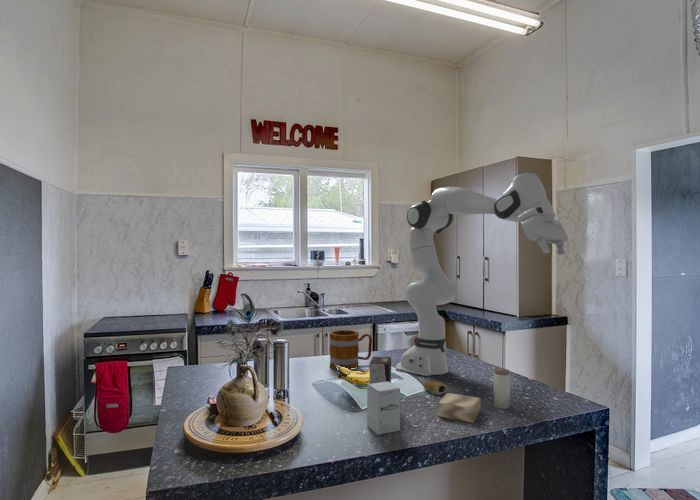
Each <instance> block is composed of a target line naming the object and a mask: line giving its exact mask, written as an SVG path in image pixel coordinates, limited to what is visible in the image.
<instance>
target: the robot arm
mask: <svg viewBox="0 0 700 500" xmlns="http://www.w3.org/2000/svg"><path fill="white" fill-rule="evenodd" d="M485 214H486V215H495V216H496V217H497V218H499V219H501V220H503V221H509V222H514V223H519V224H521V226H522V229H523V232H524V234H525V236H526V238H527V239H528V240H530V241H535V242H536V244H537V245H538V247H540V249H541V250H542V253H543V254H549V253H550V252H551V249H550V247H549V246H548V245H547V243H548V244H552V245H553V244H554V245H555V246H556V248H557V250H556V253H557V254H558V256H564V255H565V254H566V250H565V243H567V242H568V241H569V237H568V234H567V232H566V230H565V228H564V226H563V224H562V223H561V222H560V221H558V220H556V219H555V217H556V213H555V211H554V208H553V207H552V204H551V202H550V200H549V199H548V196H547V192H546V189H545V187H544V184H543V182H542V180H541V178H540V177H539V176H538V175H537V174H536V173H533V172H523V173H519V174H517V175H516V176H514V177H513V178H512V181H511V183H510V185H509V187H508V188H507V189H505V191H504V192H503V193H501V194H499V195H498V196H497V197H496V198H495V197H491V196H488V195H484V194H482V193H480V192H477V191H475V190H471V189H468V188H464V187H459V186H443V187H439V188H436V189H435V190H433V192H432V194H431V196H430V200H429V201H426V200H422V201H420V202H418V203H416V204H414V205H412V206H410V207H409V209H408V210H407V213H406V220H407V224H408V225H409V227H412V228H410V229H409V230H408V231H409V232H408V246H409V253H410V256H411V261H412V266H413V269H414V271H415V272H417V273H418V274H420V276H421V277H422V278H423V280H417V281H414V282H411V283H409V284H408V285H407V286H406V287H405V288H406V289H405V298H406V300H407V303H408V304H410V305H411V307H413V309H414V311H415V313H416V316H417V323H418V335H417V336H416V337H415V338H414V339H413V343H414V345H413V346H411V347H410V348H408V349H407V350H405V351H404V352H403V353H402V355H401V358H400V362H398V363H397V364H396V365H395V369H396V368H397V369H399V370H398V371H400V370H402V371H401V372H405V373H409V374H414V375H420V376H423V377H424V376H425V377H429V376H435V375H437V376H439V375H444V374H447V373H449V368H448V365H447V357H446V350H447V341H446V337H445V333H446V332H445V329H446V328H445V327H446V326H445V324H446V323H445V322H446V321H445V319H444V318H443V316H441V315H440V314H439V313H438V310H437V306H441V305H446V304H449V303H452V302H454V300H455V299H456V297H457V296H458V289H457V287H456V284H455V283H454V282H453V281H451V280H450V279H449V278H448V277H447V276H446V274H445V273H444V271H443V268H442V267H441V265H440V262H439V257H438V254H437V250H436V246H435V245H436V244H435V241H434V234H440V233H441V232H442V231H444V230H446V229H447V228H449V227H450V226H451V224H452V223H453V221H454V215H458V216H459V215H460V216H462V215H463V216H465V215H466V216H467V215H485Z"/></svg>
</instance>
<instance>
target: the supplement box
mask: <svg viewBox="0 0 700 500" xmlns="http://www.w3.org/2000/svg"><path fill="white" fill-rule="evenodd" d="M366 386H367V390H366V391H367V395H366V396H367V399H366V402H367V403H366V404H367V405H366V407H367V408H366V411H367V412H366V413H367V415H366V416H367V417H366V418H367V419H366V420H367V421H366V427H368V428H370V430H371V431H372V432H374V433H375V434H376V435H378V436H380V435H384V434H389V433H396V432H399V431H400V430H401V388H400V387H399V386H397V385H396V384H394V383H392V382H391V383H390V382H381V383H373V384H370V383H369V384H367V385H366Z"/></svg>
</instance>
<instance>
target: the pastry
mask: <svg viewBox="0 0 700 500" xmlns="http://www.w3.org/2000/svg"><path fill="white" fill-rule="evenodd" d="M422 386H423V388H424V389H425V391H426V392H428V393H430V394H432V395H435V396H440V395H444V394H446V393H448V386H447V385H446V384H445V383H442V382H441V381H425V382H423V385H422Z"/></svg>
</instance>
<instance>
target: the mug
mask: <svg viewBox="0 0 700 500" xmlns="http://www.w3.org/2000/svg"><path fill="white" fill-rule="evenodd" d="M359 336H360V332H359V331H358V330H357V331H356V330H352V329H351V330H350V329H339V330H332V331H330V333H329V342H330V343H329V369H332V370H335V371H338V370H337V368H336V366H335V364H336V365H339V366H341V367H345V368H348V369H351V368H356V367H358V368H359V366H358V364H359V360H364V361H368V360H370V358H371V355H372V345H373V344H372V343H373V339H372V336H371V335H370V334H369V333H364V334H363V335H361V336H360V337H359ZM366 337H368V352H367V356H366V357H364V356H359V350H360V349H359V342H361V341H363V340H364V339H365V338H366Z"/></svg>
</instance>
